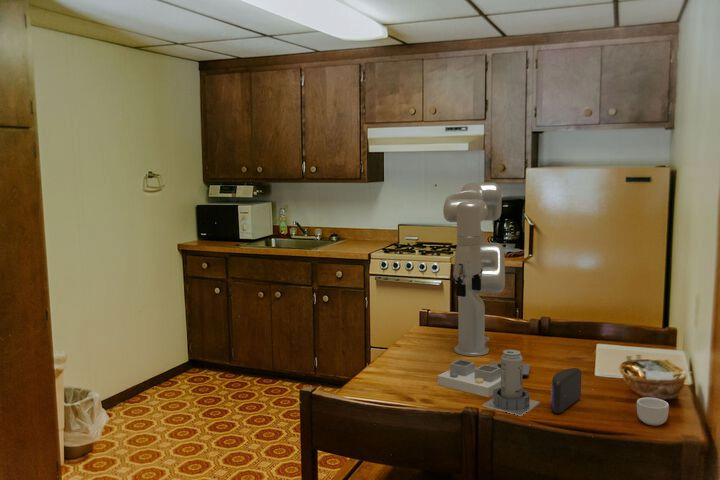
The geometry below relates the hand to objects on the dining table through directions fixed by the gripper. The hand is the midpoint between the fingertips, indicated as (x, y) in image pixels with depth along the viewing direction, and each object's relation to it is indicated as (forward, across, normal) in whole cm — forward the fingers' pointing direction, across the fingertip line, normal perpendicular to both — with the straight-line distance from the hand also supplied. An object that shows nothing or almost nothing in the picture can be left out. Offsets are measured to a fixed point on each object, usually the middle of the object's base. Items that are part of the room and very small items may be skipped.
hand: (468, 293), depth 206 cm
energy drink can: (+26, +16, +23) cm, 39 cm away
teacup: (+26, +5, +59) cm, 65 cm away
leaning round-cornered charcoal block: (+27, +8, +37) cm, 46 cm away
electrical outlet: (+28, -8, +10) cm, 31 cm away
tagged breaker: (+23, +8, +11) cm, 27 cm away
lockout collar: (+26, +17, +23) cm, 39 cm away
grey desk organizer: (+27, +9, +7) cm, 29 cm away
